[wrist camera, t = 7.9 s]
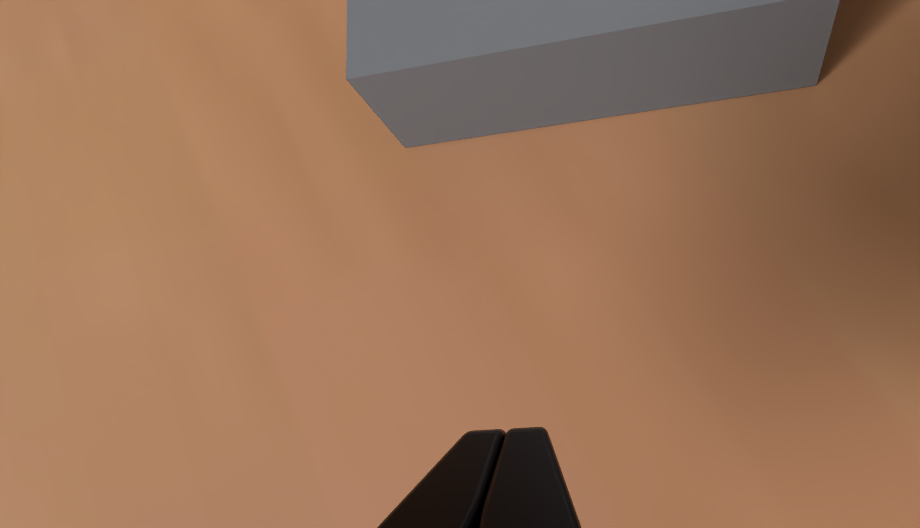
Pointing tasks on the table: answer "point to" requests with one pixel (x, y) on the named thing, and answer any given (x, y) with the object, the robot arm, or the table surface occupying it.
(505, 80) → the launcher deck
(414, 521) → the robot arm
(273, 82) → the table surface
